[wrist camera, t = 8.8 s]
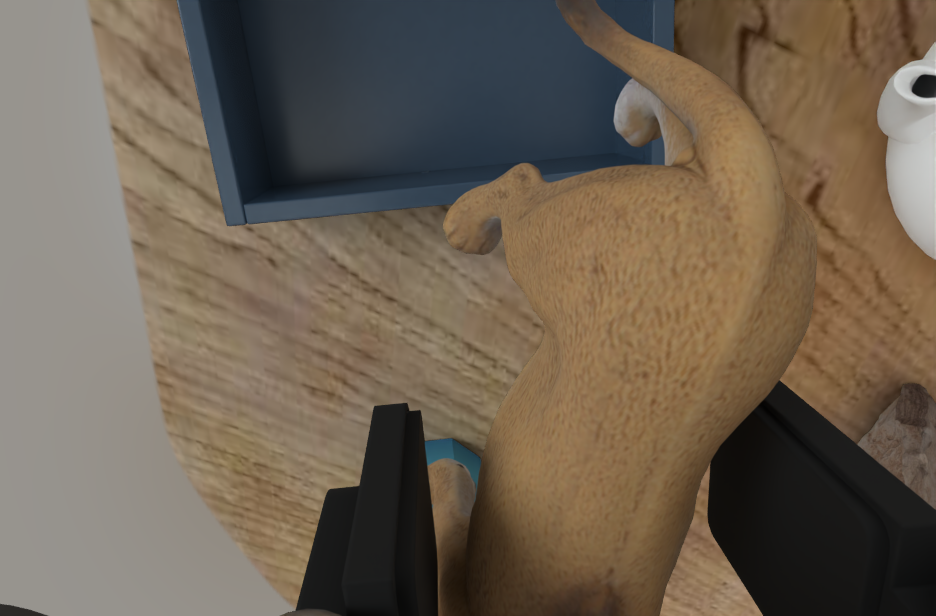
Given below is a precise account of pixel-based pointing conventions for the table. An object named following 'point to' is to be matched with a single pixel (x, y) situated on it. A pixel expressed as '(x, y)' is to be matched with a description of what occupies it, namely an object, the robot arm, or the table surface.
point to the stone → (907, 441)
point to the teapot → (912, 147)
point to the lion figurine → (624, 345)
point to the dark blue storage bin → (402, 99)
